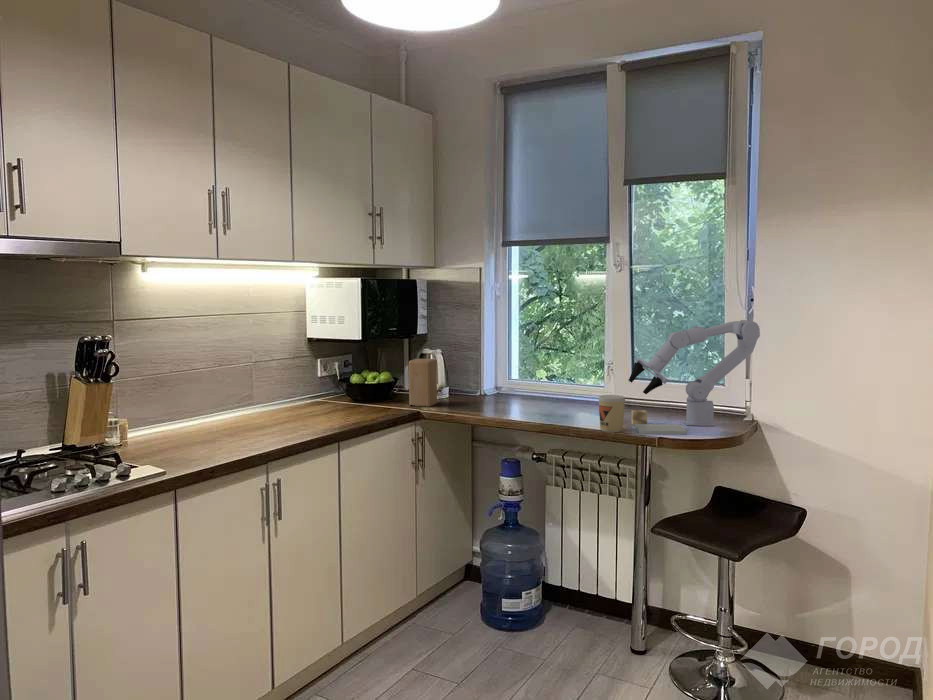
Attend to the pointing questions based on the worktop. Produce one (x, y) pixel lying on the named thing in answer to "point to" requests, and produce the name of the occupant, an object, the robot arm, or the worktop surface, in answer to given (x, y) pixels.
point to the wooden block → (423, 382)
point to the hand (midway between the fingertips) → (637, 387)
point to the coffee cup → (611, 412)
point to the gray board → (660, 429)
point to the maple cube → (639, 417)
